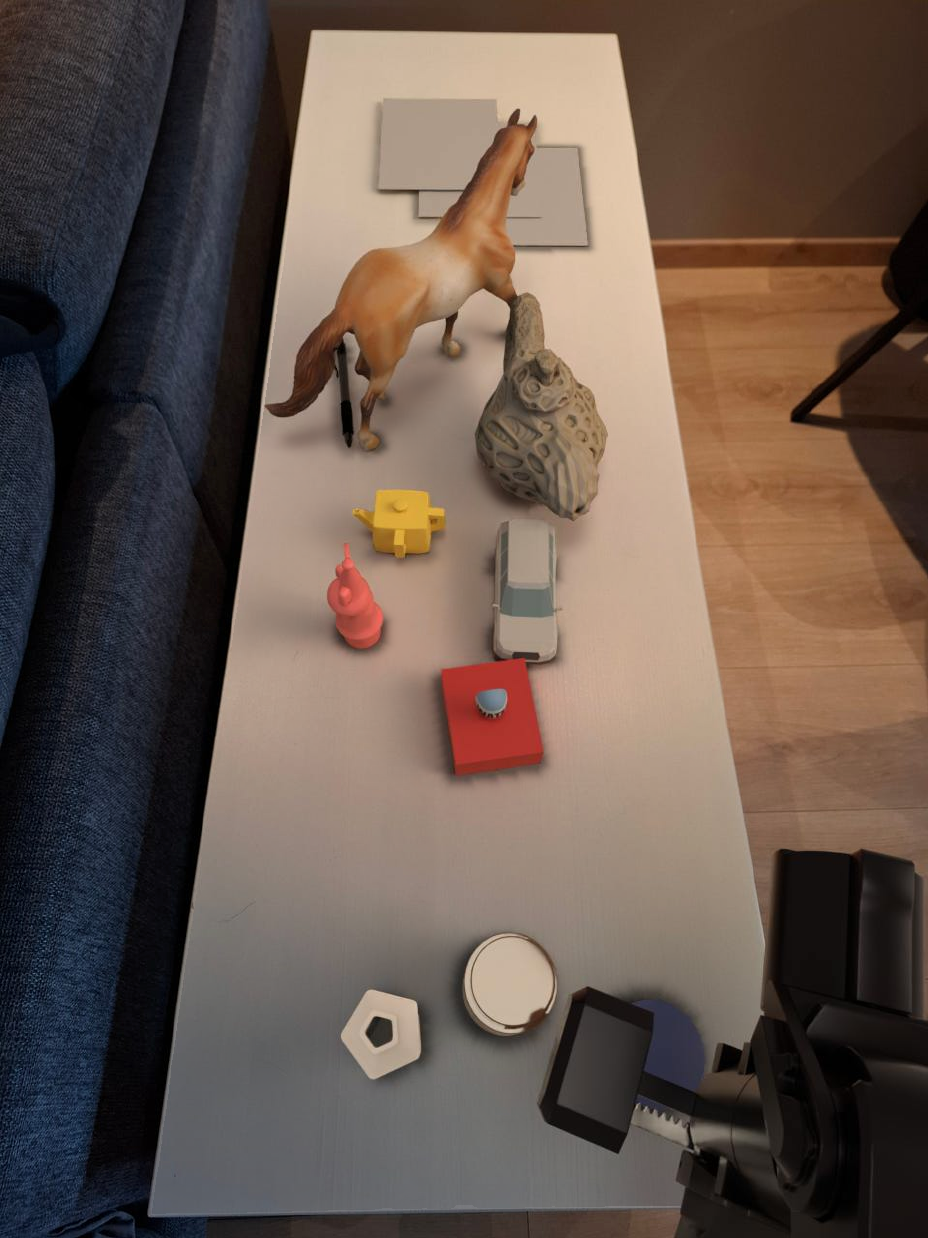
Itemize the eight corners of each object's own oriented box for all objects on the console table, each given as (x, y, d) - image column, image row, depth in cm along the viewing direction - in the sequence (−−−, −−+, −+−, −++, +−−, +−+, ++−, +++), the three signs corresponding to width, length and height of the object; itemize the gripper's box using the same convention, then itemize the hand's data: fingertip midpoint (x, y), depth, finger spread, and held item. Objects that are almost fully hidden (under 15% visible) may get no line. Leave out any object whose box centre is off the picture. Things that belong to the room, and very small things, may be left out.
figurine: (334, 613, 74) (315, 539, 63) (382, 606, 74) (370, 532, 64) (339, 656, 72) (320, 587, 62) (388, 649, 73) (377, 579, 62)
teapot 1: (353, 568, 76) (347, 537, 71) (359, 514, 79) (353, 480, 74) (444, 571, 76) (443, 540, 71) (446, 516, 79) (446, 483, 74)
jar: (548, 1036, 60) (562, 1034, 52) (461, 1035, 59) (463, 1033, 52) (545, 944, 62) (558, 930, 55) (462, 943, 62) (464, 928, 54)
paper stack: (572, 104, 106) (573, 98, 105) (587, 245, 95) (588, 240, 94) (383, 103, 106) (383, 97, 105) (376, 244, 94) (375, 239, 94)
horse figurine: (508, 290, 92) (522, 99, 73) (559, 330, 89) (588, 143, 71) (274, 445, 82) (224, 270, 64) (325, 495, 80) (287, 328, 61)
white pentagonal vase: (354, 1065, 59) (325, 1069, 45) (371, 997, 60) (349, 981, 47) (419, 1082, 58) (409, 1092, 45) (434, 1013, 60) (430, 1002, 47)
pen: (330, 342, 88) (328, 334, 87) (346, 341, 88) (345, 332, 87) (338, 451, 82) (337, 444, 81) (355, 449, 82) (354, 442, 81)
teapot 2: (623, 549, 77) (660, 444, 64) (499, 571, 76) (510, 468, 63) (563, 372, 87) (584, 247, 73) (451, 389, 86) (451, 266, 72)
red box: (540, 763, 68) (548, 737, 63) (455, 775, 68) (456, 750, 62) (521, 671, 72) (528, 639, 66) (441, 682, 71) (440, 651, 66)
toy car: (489, 669, 72) (491, 644, 67) (492, 539, 78) (495, 508, 73) (557, 672, 72) (565, 647, 67) (556, 541, 78) (562, 510, 73)
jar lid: (639, 978, 61) (645, 976, 60) (718, 1050, 59) (726, 1050, 58) (581, 1056, 59) (584, 1056, 57) (660, 1133, 57) (667, 1136, 55)
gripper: (508, 1280, 31) (490, 1209, 45) (1040, 1526, 28) (846, 1369, 42) (596, 970, 36) (556, 992, 50) (1060, 1155, 33) (879, 1124, 47)
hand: (700, 1115), depth 47 cm, fingers open, 9 cm apart
